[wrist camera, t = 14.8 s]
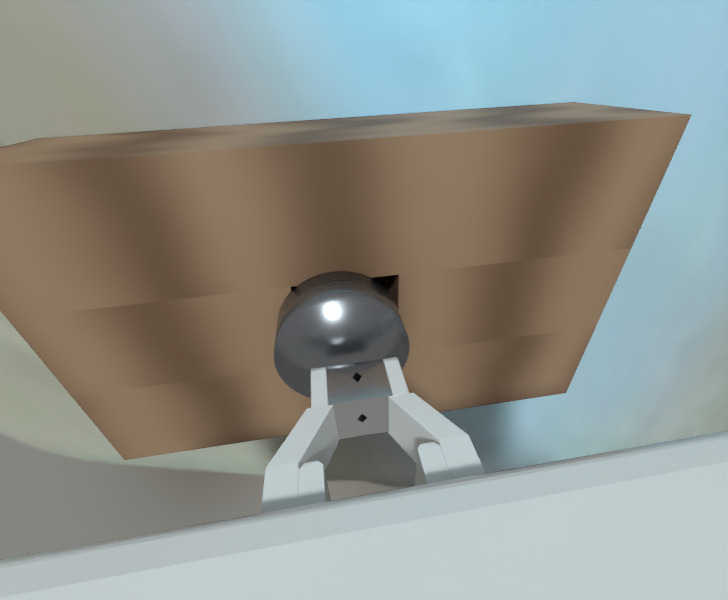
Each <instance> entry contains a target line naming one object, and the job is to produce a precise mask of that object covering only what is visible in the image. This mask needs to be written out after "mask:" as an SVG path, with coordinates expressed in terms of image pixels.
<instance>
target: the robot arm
mask: <svg viewBox="0 0 728 600" xmlns="http://www.w3.org/2000/svg"><path fill="white" fill-rule="evenodd" d="M384 432H389V434H390V435H391V436H392V437H393V439H394V440H395V441H396V442H397V443H398V444H399V445H400V446H401V447H402V448H403V450H404V451H405V452H406V453H407V454H408V455H409V456H410V457H411V458H412V459H413V461H414V462H415V463H416V473H415V485H414V486H412V487H407V488H401V489H395V490H390V491H384V492H379V493H374V494H368V495H362V496H356V497H350V498H345V499H339V500H333V501H331V499H330V494H329V490H328V485H327V480H326V475H325V471H326V468H327V466H328V464H329V462H330V460H331V458H332V455H333V453H334V451H335V449H336V447H337V445H338V442H339V440H340V439H346V438H351V437H356V436H362V435H369V434H376V433H384ZM0 600H728V431H724V432H718V433H713V434H707V435H701V436H696V437H690V438H684V439H679V440H673V441H667V442H662V443H656V444H650V445H645V446H639V447H633V448H628V449H622V450H616V451H611V452H605V453H599V454H594V455H588V456H582V457H577V458H571V459H565V460H560V461H554V462H548V463H543V464H537V465H531V466H526V467H520V468H514V469H509V470H503V471H497V472H492V473H486V472H485V470H484V468H483V466H482V464H481V461H480V459H479V457H478V455H477V453H476V450H475V448H474V446H473V444H472V441H471V439H470V437H469V435H468V434H466V433H465V432H464V431H463V430H461V429H460V428H459V427H457V426H456V425H455V424H454V423H452V422H451V421H450V420H448V419H447V418H446V417H445V416H443V415H442V414H441V413H439V412H438V411H437V410H436V409H434V408H433V407H432V406H430V405H429V404H428V403H426V402H425V401H424V400H423V399H421V398H420V397H419V396H417V395H416V394H415V393H409V390H408V387H407V384H406V381H405V378H404V375H403V372H402V369H401V366H400V363H399V360H398V358H397V357H393V358H386V359H379V360H373V361H366V362H359V363H354V364H345V365H337V366H328V367H322V368H313V369H311V408H307V409H306V410H305V412H304V413H303V415H302V416H301V418H300V419H299V420H298V422H297V423H296V425H295V426H294V428H293V429H292V431H291V432H290V434H289V435H288V436H287V438H286V439H285V441H284V442H283V444H282V445H281V447H280V448H279V450H278V451H277V452H276V454H275V455H274V457H273V458H272V460H271V461H270V463H269V464H268V466H267V467H266V471H265V481H264V490H263V499H262V508H261V513H260V514H255V515H249V516H243V517H237V518H231V519H226V520H221V521H215V522H209V523H203V524H197V525H192V526H186V527H180V528H175V529H169V530H164V531H158V532H152V533H146V534H140V535H135V536H130V537H123V538H118V539H112V540H106V541H101V542H95V543H89V544H84V545H78V546H72V547H66V548H61V549H55V550H50V551H44V552H38V553H32V554H27V555H22V556H15V557H10V558H5V559H0Z"/></svg>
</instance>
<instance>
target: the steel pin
mask: <svg viewBox="0 0 728 600" xmlns="http://www.w3.org/2000/svg"><path fill="white" fill-rule="evenodd" d="M408 355H409V338H408V335H407V332H406V329H405V327H404V324H403V322H402V319H401V316H400V314H399V311H398V309H397V306H396V303H395V301H394V299H393V297H392V295H391V293H390V292H389V291H388V290H387V289H386V288H385V287H384V286H383V285H382V284H381V283H379V282H378V281H376V280H375V279H373V278H371V277H369V276H366V275H363V274H360V273H356V272H349V271H334V272H327V273H323V274H319V275H316V276H314V277H311V278H309V279H307V280H305V281H303V282H302V283H300V284H299V285H298V286H296V287H295V288H294V289H293V290H292V291H291V292H290V293H289V294H288V295H287V297H286V298H285V300H284V301H283V303H282V305H281V308H280V310H279V315H278V321H277V329H276V338H275V346H274V364H275V367H276V370H277V372H278V374H279V376H280V377H281V379H282V380H283V381H284V382H285V383H286V384H287V385H288V386H289V387H290V388H291V389H293V390H294V391H296V392H298V393H299V394H301V395H304V396H306V397H309V398H311V369H313V368H322V367H328V366H337V365H345V364H354V363H359V362H366V361H373V360H379V359H386V358H393V357H397V358H398V360H399V363H400V366H401V369H403V367H404V365H405V363H406V361H407V358H408Z"/></svg>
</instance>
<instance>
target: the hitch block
mask: <svg viewBox="0 0 728 600" xmlns="http://www.w3.org/2000/svg"><path fill="white" fill-rule="evenodd" d="M690 117H691V115H689V114H680V113H670V112H661V111H651V110H642V109H633V108H623V107H614V106H604V105H595V104H586V103H576V102H569V103H554V104H540V105H525V106H510V107H496V108H481V109H466V110H452V111H437V112H422V113H408V114H393V115H378V116H364V117H349V118H334V119H320V120H305V121H290V122H276V123H261V124H246V125H231V126H217V127H202V128H187V129H173V130H158V131H143V132H129V133H114V134H99V135H85V136H70V137H55V138H41V139H33V140H29V141H25V142H21V143H17V144H13V145H8V146H4V147H0V311H1V312H2V313H3V314H4V315H5V317H6V318H7V319H8V320H9V322H10V323H11V324H12V325H13V326H14V328H15V329H16V330H17V331H18V332H19V334H20V335H21V336H22V337H23V338H24V340H25V341H26V342H27V343H28V344H29V346H30V347H31V348H32V349H33V350H34V352H35V353H36V354H37V355H38V356H39V358H40V359H41V360H42V361H43V362H44V364H45V365H46V366H47V367H48V368H49V370H50V371H51V372H52V373H53V374H54V376H55V377H56V378H57V379H58V380H59V382H60V383H61V384H62V385H63V386H64V388H65V389H66V390H67V391H68V393H69V394H70V395H71V396H72V397H73V399H74V400H75V401H76V402H77V403H78V405H79V406H80V407H81V408H82V409H83V411H84V412H85V413H86V414H87V415H88V417H89V418H90V419H91V420H92V421H93V423H94V424H95V425H96V426H97V427H98V429H99V430H100V431H101V432H102V433H103V435H104V436H105V437H106V438H107V439H108V441H109V442H110V443H111V444H112V445H113V447H114V448H115V449H116V450H117V451H118V453H119V454H120V455H121V456H122V457H123V459H124V460H128V459H135V458H141V457H148V456H154V455H161V454H167V453H174V452H181V451H187V450H194V449H200V448H207V447H213V446H220V445H227V444H233V443H240V442H246V441H253V440H259V439H266V438H273V437H279V436H286V435H289V434H290V432H291V431H292V429H293V428H294V426H295V425H296V423H297V422H298V420H299V419H300V418H301V416H302V415H303V413H304V412H305V410H306V409H307V408H311V398H309V397H306V396H304V395H301V394H299V393H298V392H296V391H294V390H293V389H291V388H290V387H289V386H288V385H287V384H286V383H285V382H284V381H283V380H282V379H281V377H280V376H279V374H278V372H277V370H276V367H275V364H274V346H275V338H276V329H277V321H278V315H279V310H280V308H281V305H282V303H283V301H284V300H285V298H286V297H287V295H288V294H289V293H290V292H291V291H292V290H293V289H294V288H295V287H296V286H298V285H299V284H300V283H302V282H303V281H305V280H307V279H309V278H311V277H314V276H316V275H319V274H323V273H327V272H334V271H349V272H356V273H360V274H363V275H366V276H369V277H371V278H372V277H375V280H376V281H378V282H379V283H381V284H382V285H383V286H384V287H385V288H386V289H387V290H388V291H389V292H390V293H391V295H392V297H393V299H394V301H395V303H396V306H397V309H398V311H399V314H400V316H401V319H402V322H403V324H404V327H405V329H406V332H407V335H408V338H409V355H408V358H407V361H406V363H405V365H404V367H403V369H402V372H403V375H404V378H405V381H406V384H407V387H408V390H409V393H415V394H416V395H417V396H419V397H420V398H421V399H423V400H424V401H425V402H426V403H428V404H429V405H430V406H432V407H433V408H434V409H436V410H437V411H438V412H443V411H450V410H457V409H463V408H470V407H476V406H483V405H489V404H496V403H503V402H509V401H516V400H522V399H529V398H535V397H542V396H549V395H555V394H562V393H566V391H567V389H568V387H569V385H570V382H571V380H572V378H573V376H574V374H575V371H576V369H577V367H578V365H579V363H580V360H581V358H582V356H583V354H584V351H585V349H586V347H587V345H588V343H589V340H590V338H591V336H592V334H593V332H594V329H595V327H596V325H597V323H598V321H599V318H600V316H601V314H602V312H603V309H604V307H605V305H606V303H607V301H608V298H609V296H610V294H611V292H612V290H613V287H614V285H615V283H616V281H617V278H618V276H619V274H620V272H621V270H622V267H623V265H624V263H625V261H626V259H627V256H628V254H629V252H630V250H631V247H632V245H633V243H634V241H635V239H636V236H637V234H638V232H639V230H640V228H641V225H642V223H643V221H644V219H645V217H646V214H647V212H648V210H649V208H650V205H651V203H652V201H653V199H654V197H655V194H656V192H657V190H658V188H659V186H660V183H661V181H662V179H663V177H664V174H665V172H666V170H667V168H668V166H669V163H670V161H671V159H672V157H673V155H674V152H675V150H676V148H677V146H678V144H679V141H680V139H681V137H682V135H683V132H684V130H685V128H686V126H687V124H688V121H689V119H690Z"/></svg>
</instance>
